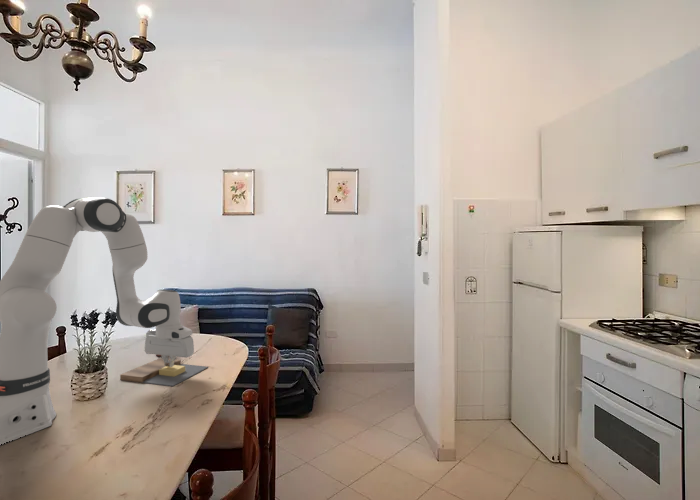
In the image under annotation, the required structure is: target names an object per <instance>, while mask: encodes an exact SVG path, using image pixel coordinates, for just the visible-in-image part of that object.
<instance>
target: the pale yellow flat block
mask: <svg viewBox="0 0 700 500" xmlns="http://www.w3.org/2000/svg"><path fill="white" fill-rule="evenodd" d="M183 372H185V366H179V365H174V366H173V367H164V368H161V369H159V375H165V376H173V377H175V376H177V375H179V374H181V373H183Z"/></svg>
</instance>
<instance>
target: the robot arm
mask: <svg viewBox="0 0 700 500" xmlns="http://www.w3.org/2000/svg"><path fill="white" fill-rule="evenodd" d="M83 231H85V232H90V233H95V232H96V233H97V232H101V233H102V234H103V235H104V237H105V238H106V241H107V245H108V249H109V253H110V257H111V261H112V262H111V263H112V278H113V283H114V290H115V295H116V309H115V317H116V316H117V317H116V319H117V321H118V323H120V324H121V325H123V326H124V327H125V326H126V327H127V326H128V327H138V328H144V329H149V330H148V331H147V332H145V339H144V340H145V341H144V352H145V353H146V354H148V355H154V356H156V355H162V356H161V358H162V359H163V361H164V366H165V367H173V366H174V361H175V359H176V358H184V359H186V358H190V357H192V356H193V354H194V352H195V344H194V343H195V342H194V339H193V337H192V335H193V330H192V329H191V328H189V327H186V326H184V325H183V324H182V320H181V317H180V316H181V310H182V309H181V307H182V306H181V298H180V294H179V292H178V291H176V290H173V289H172V290H171V289H163V288H162V289H159V290H156V292H155V293H154V294H153V295H152V296H150V297H149V298H147V299H144V300H142V299H140V298H139V297H138V296H137V293H136V285H135V279H134V275H135V273H136V271H138V270H139V269H141V268H142V267H143V266H144V265H145V263H147V260H148V248H147V245H146V244H147V243H146V241H145V237H144V234H143V231H142V227H141V226H140V223H139V222H138V220H137V218H136V217H135V216H134V215H132V214H128V213H125V212H124V211H123V209H122V208H121V206H120V204H119V203H117V202H116V201H115V200H113V199H111V198H107V197H103V196H99V197H94V196H93V197H92V196H89V197H88V196H87V197H82V198H76V199H73V200H71V201H69V202H68V203H66V204H65V205H63V206H61V205H46V206H44V207H42V208H41V209H40V210H39V212H38V213H37V214H36V216H35V217H34V218H33V220H32V221H31V223H30V224H29V227H28V228H27V230H26V232H25V234H24V237H23V238H22V241H21V243H20V246H19V247H18V250H17V253H16V254H15V257H14V258H13V261H12V263H11V264H10V266H9V268H8V269H7V270H6V272H5V273H4V275H3V276H2V278H1V279H0V327H1V328H0V446H2V445H4V443H5V444H7V443H6V442H8V443H10V442H12V440H13V441H15V440H17V439H20V437H21V438H23V437H26V436H28V435H30V434H33V433H36V432H39V431H40V430H43V429H47V428H48V427H51V426H53V425H52V424H53V421H54V419H55V418H56V416H57V412H56V410H55V407H54V405H53V401H52V396H51V392H50V382H51V371H50V368H49V367H48V366H49V365H48V361H49V360H48V358H49V357H48V341H49V335H50V330H51V325H52V319H53V318H54V316H55V315H56V314H57V302H56V301H55V299H54V298H53V297H52V296H51V294H49V293H48V292H46V291H47V289H48V288H49V286H50V285H51V283H52V282H53V281H54V279H55V278H56V277H57V276H58V275H59V274H60V273H61V271H62V269H63V266H64V264H65V261H66V259H67V257H68V253H69V252H70V249H71V246H72V243H73V241H74V239H75V237H76V235H77V234H78V233H79V232H83ZM154 327H155V329H152V328H154ZM168 359H171V360H170V361H169V360H168ZM176 360H177V359H176ZM25 435H26V436H25ZM9 441H10V442H9ZM1 444H2V445H1Z"/></svg>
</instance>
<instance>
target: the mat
mask: <svg viewBox="0 0 700 500" xmlns="http://www.w3.org/2000/svg"><path fill="white" fill-rule="evenodd" d="M179 366H185V372H183V373H181V374H179V375H177V376H175V377H173V376H165V375H159V374H158V375H156V376H154V377H152V378H150V379H147V380H145V381H143V383H142V384H147V385H148V384H149V385H157V386H158V385H159V386H163V387H164V386H165V387H174V386H176V385H179V384H181V383H182V382H185V381H186V380H189V379H190V378H192V377H194V376H195V375H197V374H199V373H201V372H203V371H205V370H207V369H209V366H206V365H205V366H204V365H196V364H186V363H185V364H184V363H181V364H180V365H179ZM206 368H207V369H206ZM204 369H205V370H204ZM193 375H194V376H193Z"/></svg>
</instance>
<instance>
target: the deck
mask: <svg viewBox="0 0 700 500" xmlns="http://www.w3.org/2000/svg"><path fill="white" fill-rule="evenodd" d="M168 360H169V361H170V360H171V359H170V358H168ZM180 364H182V361H181V359H175V361H174V365H180ZM164 367H165V366H164V361H163V359H162V357H159V358H157V359H155V360H153V361H150V362H148V363H145V364H143V365H140V366H138V367H135V368H133V369H131V370H128V371H125V372H123V373H120V374H119V377H120V378H119V379H120V381H127V382H134V383H142V384H144V383H143V381H145V380H147V379H150V378H152V377H154V376H156V375H158V374H159V369H161V368H164Z"/></svg>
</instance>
